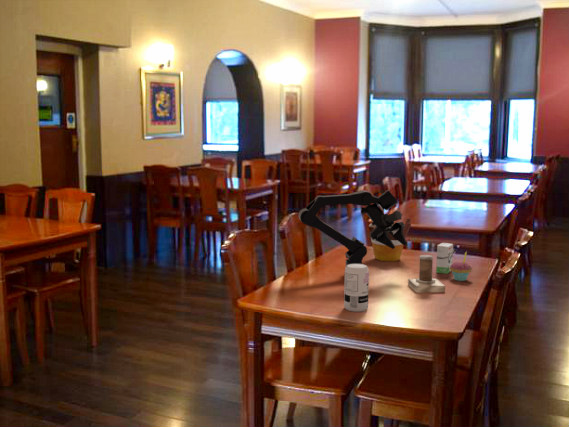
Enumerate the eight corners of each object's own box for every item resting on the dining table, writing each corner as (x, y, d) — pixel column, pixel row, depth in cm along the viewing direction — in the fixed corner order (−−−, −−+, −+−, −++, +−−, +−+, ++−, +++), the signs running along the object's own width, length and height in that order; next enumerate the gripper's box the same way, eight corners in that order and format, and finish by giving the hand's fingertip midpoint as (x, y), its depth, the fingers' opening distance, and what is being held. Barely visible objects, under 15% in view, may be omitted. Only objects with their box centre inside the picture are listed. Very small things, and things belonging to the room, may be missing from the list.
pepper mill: (425, 284, 241) (426, 258, 239) (415, 281, 245) (416, 256, 244) (435, 282, 244) (436, 256, 242) (425, 279, 248) (425, 254, 246)
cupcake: (471, 278, 261) (472, 249, 260) (470, 282, 253) (471, 253, 252) (450, 276, 264) (451, 247, 262) (448, 281, 256) (449, 251, 254)
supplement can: (341, 305, 221) (342, 263, 219) (365, 305, 222) (366, 263, 220) (346, 312, 213) (347, 268, 211) (370, 312, 214) (371, 268, 212)
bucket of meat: (364, 261, 291) (365, 218, 288) (370, 254, 307) (372, 213, 304) (408, 264, 285) (409, 220, 282) (412, 257, 300) (414, 215, 297)
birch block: (416, 293, 239) (416, 286, 238) (408, 286, 250) (408, 278, 249) (444, 293, 240) (445, 285, 239) (435, 285, 251) (435, 278, 250)
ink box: (447, 274, 267) (448, 246, 266) (435, 272, 270) (436, 245, 268) (452, 270, 275) (453, 243, 273) (441, 268, 277) (442, 242, 276)
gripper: (377, 206, 250) (401, 237, 244) (401, 202, 264) (424, 231, 258) (360, 224, 256) (382, 254, 251) (384, 218, 270) (406, 247, 265)
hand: (400, 246), depth 256 cm, fingers open, 9 cm apart
